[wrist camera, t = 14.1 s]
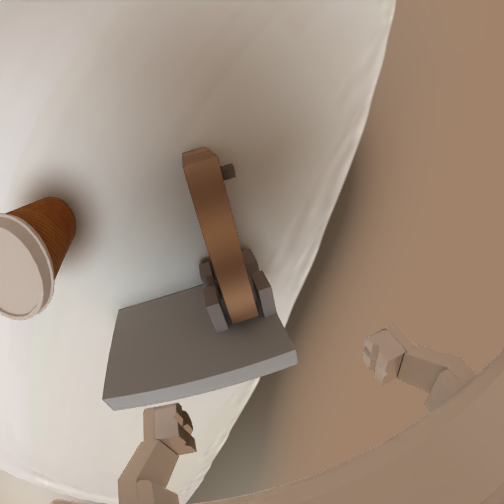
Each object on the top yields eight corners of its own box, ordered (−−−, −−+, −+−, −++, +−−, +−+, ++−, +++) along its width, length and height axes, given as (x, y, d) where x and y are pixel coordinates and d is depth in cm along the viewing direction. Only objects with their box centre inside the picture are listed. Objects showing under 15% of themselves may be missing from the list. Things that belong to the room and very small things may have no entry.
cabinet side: (107, 289, 30) (81, 377, 18) (247, 245, 32) (290, 321, 20) (125, 321, 33) (113, 410, 21) (257, 282, 35) (297, 363, 23)
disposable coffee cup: (102, 209, 26) (62, 260, 16) (71, 275, 28) (37, 341, 18) (38, 167, 22) (-26, 197, 12) (13, 236, 24) (-38, 288, 14)
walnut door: (182, 153, 26) (182, 166, 18) (218, 143, 27) (237, 151, 18) (217, 269, 33) (232, 324, 24) (247, 260, 33) (273, 310, 25)
